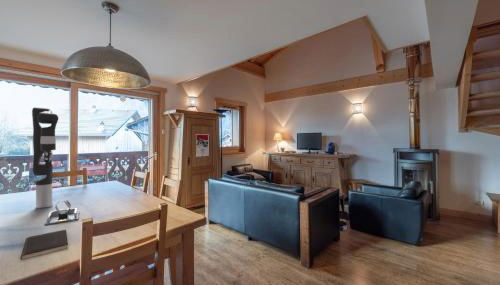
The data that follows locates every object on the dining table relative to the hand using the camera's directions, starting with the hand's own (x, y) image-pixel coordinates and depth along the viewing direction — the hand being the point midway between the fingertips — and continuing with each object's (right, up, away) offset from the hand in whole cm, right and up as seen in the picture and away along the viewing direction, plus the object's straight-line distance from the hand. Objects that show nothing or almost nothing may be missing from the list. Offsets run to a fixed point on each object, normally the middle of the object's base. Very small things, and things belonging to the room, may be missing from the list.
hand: (48, 167), depth 149 cm
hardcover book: (+33, -35, -38) cm, 61 cm away
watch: (+12, -33, -3) cm, 35 cm away
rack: (+12, -33, -3) cm, 35 cm away
